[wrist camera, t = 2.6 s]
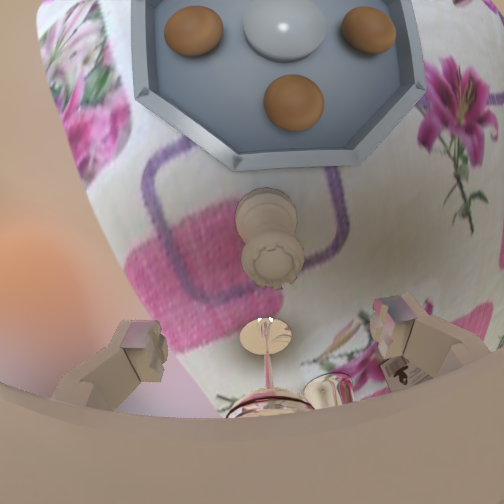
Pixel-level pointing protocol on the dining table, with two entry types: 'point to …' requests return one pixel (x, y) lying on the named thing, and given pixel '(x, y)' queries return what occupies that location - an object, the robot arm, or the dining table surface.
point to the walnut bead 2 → (293, 102)
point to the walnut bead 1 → (193, 30)
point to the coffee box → (402, 373)
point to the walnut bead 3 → (369, 30)
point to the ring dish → (270, 68)
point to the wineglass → (268, 373)
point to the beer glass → (330, 390)
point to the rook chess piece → (269, 238)
